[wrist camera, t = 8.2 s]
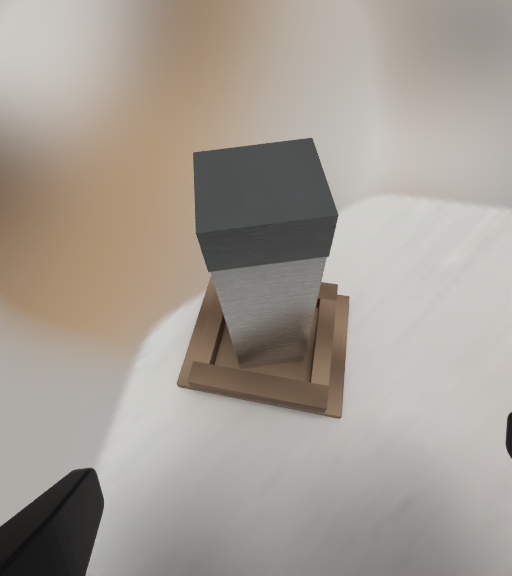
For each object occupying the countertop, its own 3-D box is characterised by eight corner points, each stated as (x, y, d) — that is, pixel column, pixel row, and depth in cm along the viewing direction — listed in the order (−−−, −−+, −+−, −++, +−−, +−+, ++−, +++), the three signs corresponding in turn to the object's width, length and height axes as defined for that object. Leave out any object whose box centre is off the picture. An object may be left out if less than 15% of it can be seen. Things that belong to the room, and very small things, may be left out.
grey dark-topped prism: (304, 361, 21) (338, 214, 9) (239, 369, 20) (195, 233, 9) (294, 310, 22) (312, 138, 11) (234, 317, 22) (193, 152, 11)
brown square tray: (340, 418, 19) (345, 412, 18) (178, 386, 21) (170, 378, 19) (348, 299, 23) (353, 286, 22) (211, 280, 25) (207, 266, 23)
